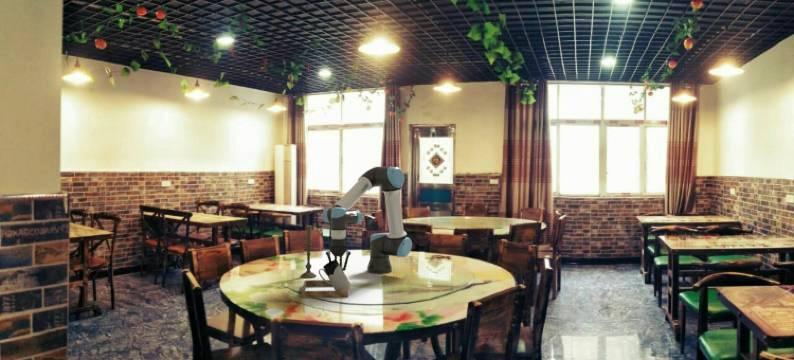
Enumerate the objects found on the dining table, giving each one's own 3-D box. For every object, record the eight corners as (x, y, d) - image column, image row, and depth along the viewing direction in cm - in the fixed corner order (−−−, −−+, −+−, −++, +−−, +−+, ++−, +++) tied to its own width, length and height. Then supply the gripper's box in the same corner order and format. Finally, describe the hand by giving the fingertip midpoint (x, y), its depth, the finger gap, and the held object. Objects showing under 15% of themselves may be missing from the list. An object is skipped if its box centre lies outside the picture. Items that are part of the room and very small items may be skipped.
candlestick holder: (318, 275, 284) (318, 223, 283) (313, 278, 275) (314, 225, 274) (302, 274, 285) (303, 223, 284) (298, 278, 275) (298, 225, 275)
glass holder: (345, 292, 236) (331, 265, 234) (325, 297, 243) (311, 272, 242) (354, 283, 243) (341, 257, 241) (334, 288, 251) (321, 263, 249)
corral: (347, 285, 259) (347, 279, 259) (348, 297, 235) (348, 290, 235) (304, 286, 257) (304, 280, 257) (300, 297, 233) (300, 291, 233)
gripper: (325, 239, 242) (324, 286, 242) (351, 239, 243) (351, 286, 244) (325, 237, 249) (325, 282, 250) (351, 237, 251) (350, 282, 251)
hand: (337, 284), depth 247 cm, fingers closed
